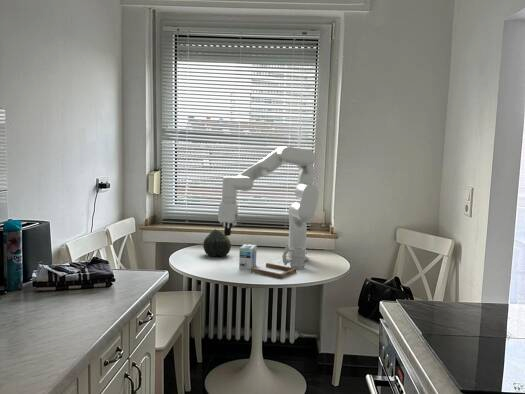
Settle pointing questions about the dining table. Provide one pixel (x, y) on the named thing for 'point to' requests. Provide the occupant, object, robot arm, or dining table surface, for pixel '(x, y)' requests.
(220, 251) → the squash
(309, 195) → the robot arm
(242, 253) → the light bulb box
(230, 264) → the dining table surface
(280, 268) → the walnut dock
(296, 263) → the mug
